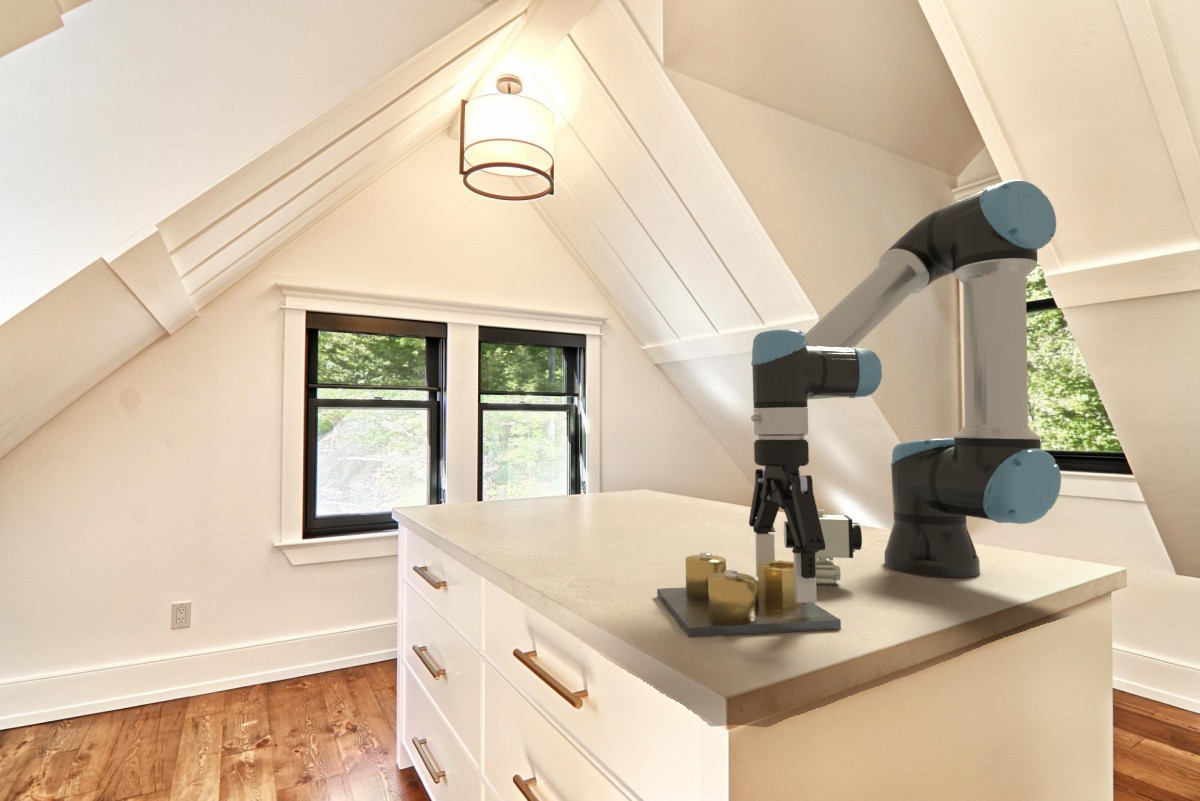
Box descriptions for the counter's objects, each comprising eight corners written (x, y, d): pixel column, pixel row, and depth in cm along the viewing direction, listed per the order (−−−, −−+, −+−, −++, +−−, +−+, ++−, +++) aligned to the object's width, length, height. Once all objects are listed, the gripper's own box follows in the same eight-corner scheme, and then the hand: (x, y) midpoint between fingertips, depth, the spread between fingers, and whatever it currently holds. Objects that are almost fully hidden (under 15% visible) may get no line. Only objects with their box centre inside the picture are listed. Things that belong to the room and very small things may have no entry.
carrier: (781, 590, 94) (780, 546, 95) (840, 629, 76) (839, 574, 77) (657, 596, 92) (656, 550, 92) (689, 637, 74) (688, 580, 74)
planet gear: (792, 593, 88) (792, 559, 88) (812, 606, 82) (811, 569, 83) (753, 595, 88) (753, 561, 88) (770, 608, 82) (769, 571, 82)
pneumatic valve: (863, 588, 95) (861, 512, 96) (787, 584, 98) (785, 511, 98) (856, 579, 101) (854, 508, 101) (784, 576, 103) (782, 506, 104)
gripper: (727, 436, 98) (729, 568, 97) (794, 440, 73) (798, 616, 72) (770, 436, 99) (773, 567, 98) (851, 439, 74) (856, 613, 73)
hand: (784, 588), depth 85 cm, fingers open, 12 cm apart
